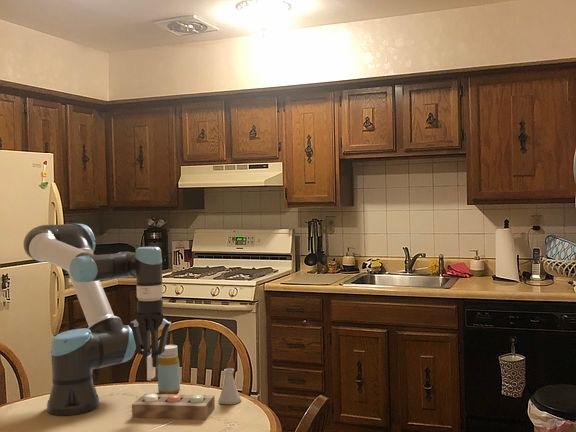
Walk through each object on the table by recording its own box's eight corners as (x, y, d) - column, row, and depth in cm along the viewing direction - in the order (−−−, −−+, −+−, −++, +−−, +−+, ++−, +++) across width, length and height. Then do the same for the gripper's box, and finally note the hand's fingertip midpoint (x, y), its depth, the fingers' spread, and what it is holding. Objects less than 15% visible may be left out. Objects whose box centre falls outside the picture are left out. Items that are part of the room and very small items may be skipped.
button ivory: (142, 409, 182) (142, 397, 182) (147, 405, 186) (147, 394, 186) (155, 410, 182) (154, 398, 182) (159, 405, 186) (159, 394, 185)
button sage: (188, 410, 180) (188, 398, 180) (192, 406, 184) (192, 394, 184) (201, 411, 180) (201, 399, 180) (205, 406, 183) (204, 395, 183)
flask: (237, 405, 188) (236, 373, 188) (215, 404, 190) (214, 372, 190) (243, 398, 196) (243, 366, 195) (221, 397, 197) (221, 366, 197)
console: (132, 417, 180) (131, 404, 180) (145, 406, 189) (144, 393, 189) (205, 420, 176) (205, 406, 176) (214, 408, 186) (214, 395, 186)
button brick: (165, 410, 181) (165, 398, 181) (170, 406, 185) (169, 394, 185) (178, 410, 181) (177, 398, 181) (182, 406, 184) (181, 394, 184)
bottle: (177, 395, 201) (176, 349, 200) (156, 395, 201) (154, 349, 200) (181, 388, 208) (180, 344, 207) (161, 389, 208) (159, 344, 207)
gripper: (123, 300, 181) (125, 380, 182) (166, 301, 179) (167, 381, 180) (134, 296, 189) (135, 373, 189) (175, 297, 187) (176, 374, 187)
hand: (151, 377), depth 184 cm, fingers closed
